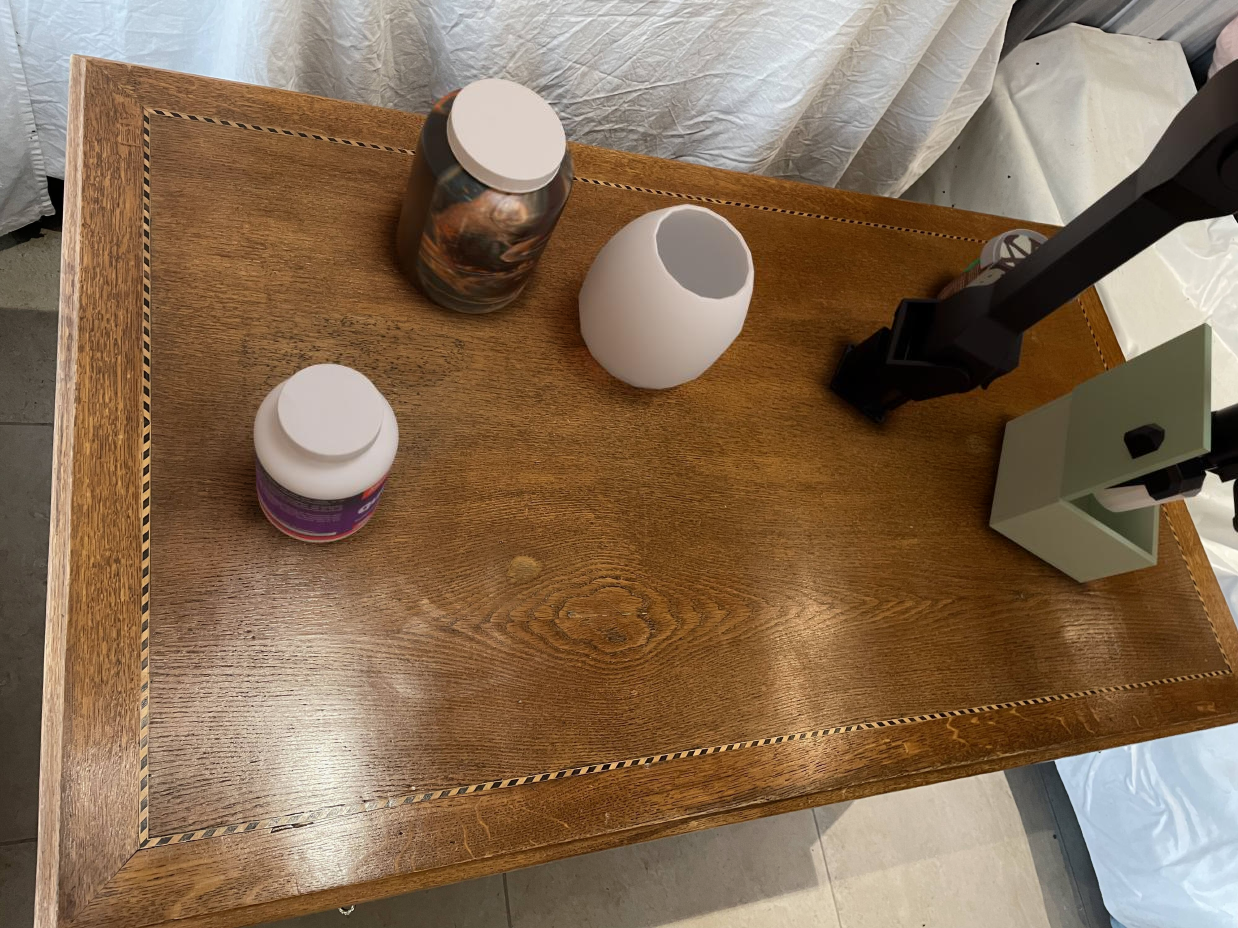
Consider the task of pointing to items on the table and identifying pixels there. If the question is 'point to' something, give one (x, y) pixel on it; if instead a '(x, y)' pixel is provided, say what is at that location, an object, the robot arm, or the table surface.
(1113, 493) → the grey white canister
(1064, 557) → the chest
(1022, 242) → the food container
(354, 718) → the table surface
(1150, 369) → the lid
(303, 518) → the pill bottle
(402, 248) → the jar
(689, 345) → the cup
